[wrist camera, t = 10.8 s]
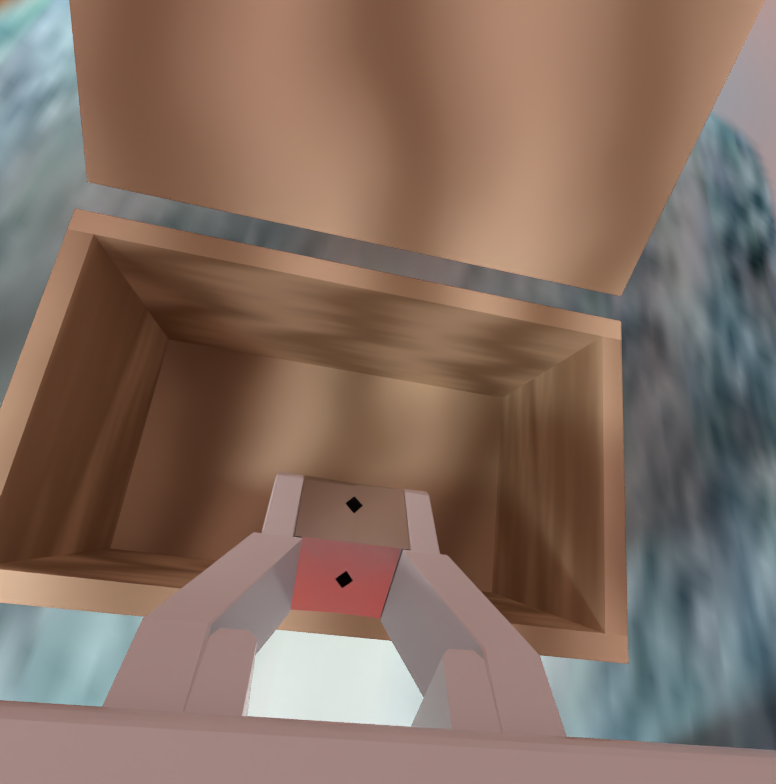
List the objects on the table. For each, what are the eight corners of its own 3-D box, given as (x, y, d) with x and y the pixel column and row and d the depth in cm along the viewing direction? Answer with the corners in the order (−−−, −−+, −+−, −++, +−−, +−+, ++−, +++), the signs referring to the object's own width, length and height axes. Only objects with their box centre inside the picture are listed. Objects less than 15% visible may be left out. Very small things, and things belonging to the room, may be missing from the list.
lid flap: (23, -465, 9) (38, -440, 10) (87, 181, 15) (94, 179, 16) (839, -152, 12) (823, -143, 12) (620, 296, 18) (615, 291, 18)
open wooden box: (91, 563, 22) (-70, 595, 12) (159, 327, 25) (75, 208, 16) (500, 608, 24) (628, 663, 15) (511, 389, 28) (620, 321, 18)
